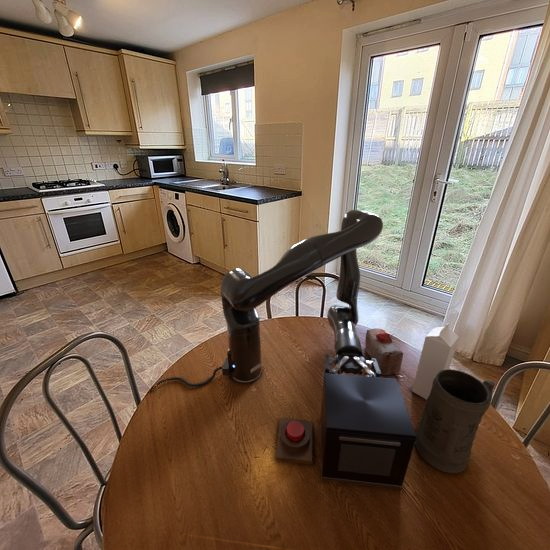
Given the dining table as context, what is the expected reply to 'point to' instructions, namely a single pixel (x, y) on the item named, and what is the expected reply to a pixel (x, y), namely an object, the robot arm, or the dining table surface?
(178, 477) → the dining table surface
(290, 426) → the button
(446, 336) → the milk
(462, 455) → the beer stein
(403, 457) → the oven
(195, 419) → the dining table surface
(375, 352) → the food item
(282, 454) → the housing
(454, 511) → the dining table surface
